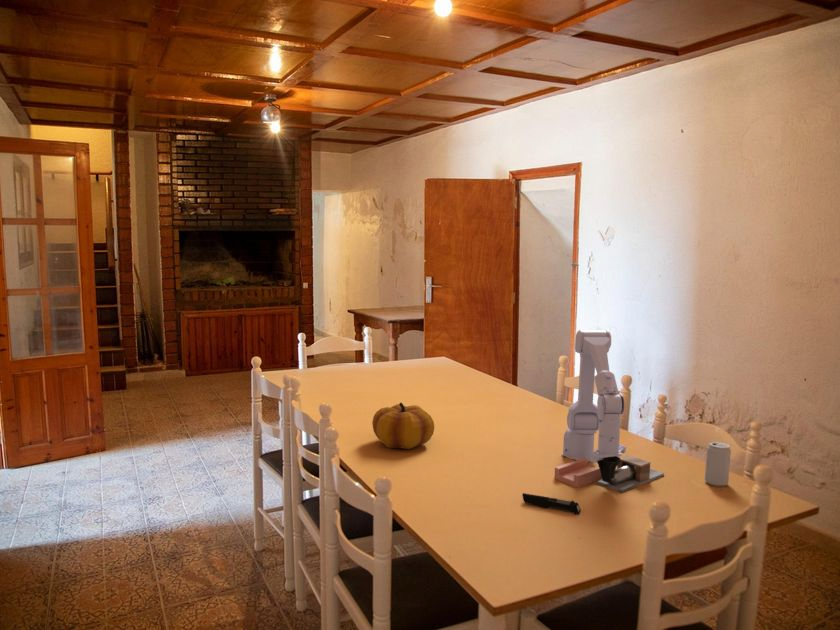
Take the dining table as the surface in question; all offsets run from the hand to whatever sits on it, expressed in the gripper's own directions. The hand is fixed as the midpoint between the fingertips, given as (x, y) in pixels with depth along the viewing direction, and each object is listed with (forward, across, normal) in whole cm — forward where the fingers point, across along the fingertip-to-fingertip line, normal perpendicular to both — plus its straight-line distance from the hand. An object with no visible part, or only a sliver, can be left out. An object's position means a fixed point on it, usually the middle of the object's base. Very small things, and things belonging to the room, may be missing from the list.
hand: (606, 481), depth 186 cm
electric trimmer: (+3, -23, +1) cm, 23 cm away
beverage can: (+3, +30, -17) cm, 35 cm away
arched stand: (+2, +13, 0) cm, 14 cm away
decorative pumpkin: (+3, -23, +67) cm, 71 cm away
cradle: (+2, +1, +10) cm, 10 cm away
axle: (0, +10, 0) cm, 10 cm away
